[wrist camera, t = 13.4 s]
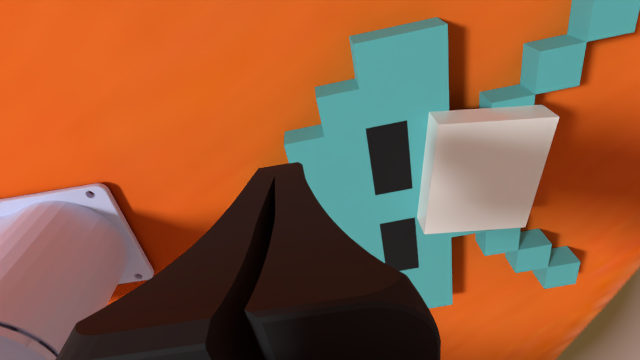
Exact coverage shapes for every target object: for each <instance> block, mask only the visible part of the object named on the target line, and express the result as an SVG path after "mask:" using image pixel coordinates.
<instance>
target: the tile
mask: <svg viewBox="0 0 640 360" xmlns="http://www.w3.org/2000/svg"><path fill="white" fill-rule="evenodd" d="M558 121H559V116H558V115H556V114H555V113H553V112H552V111H551V110H549V109H548V108H546V107H545V106H544V105H530V106H514V107H498V108H481V109H465V110H449V111H434V112H429V117H428V125H427V134H426V143H425V152H424V161H423V169H422V178H421V187H420V196H419V205H418V213H417V218H418V221H419V223H420V226H421V228H422V230H423V233H424V234H436V233H450V232H464V231H479V230H493V229H507V228H522V227H526V224H527V221H528V217H529V214H530V211H531V208H532V205H533V201H534V198H535V195H536V192H537V188H538V185H539V182H540V179H541V175H542V172H543V169H544V166H545V163H546V159H547V156H548V153H549V150H550V146H551V143H552V140H553V137H554V133H555V130H556V127H557V124H558Z"/></svg>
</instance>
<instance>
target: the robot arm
mask: <svg viewBox="0 0 640 360" xmlns="http://www.w3.org/2000/svg"><path fill="white" fill-rule="evenodd" d="M89 191H91V192H93V193H94V194H95V195H94V194H91V193H90V192H89ZM139 274H141V275H139ZM153 275H154V270H153V268H152V266H151V264H150V263H149V261H148V259H147V257H146V255H145V254H144V252H143V250H142V248H141V246H140V244H139V243H138V241H137V239H136V237H135V235H134V234H133V232H132V230H131V228H130V226H129V225H128V223H127V221H126V219H125V217H124V215H123V214H122V212H121V210H120V208H119V206H118V205H117V203H116V201H115V199H114V197H113V196H112V194H111V192H110V190H109V188H108V187H107V186H106V185H104V184H101V183H96V184H90V185H84V186H78V187H72V188H65V189H59V190H53V191H47V192H41V193H35V194H29V195H23V196H17V197H11V198H5V199H0V360H440V344H441V341H440V335H439V331H438V328H437V325H436V323H435V320H434V318H433V316H432V314H431V312H430V310H429V309H428V307H427V305H426V303H425V302H424V300H423V298H422V297H421V295H420V294H419V292H418V291H417V289H416V288H415V286H414V285H413V283H412V282H411V280H410V279H409V278H408V276H407V275H405V274H404V273H402V272H400V271H398V270H396V269H395V268H393V267H391V266H389V265H387V264H385V263H384V262H382V261H381V260H379V259H378V258H376V257H375V256H373V255H372V254H370V253H369V252H368V251H366V250H365V249H364V248H363V247H361V246H360V245H359V244H358V243H356V242H355V241H354V240H353V239H351V238H350V237H349V236H348V235H347V234H346V233H345V232H344V231H343V230H342V229H341V228H340V227H339V226H338V225H337V224H336V223H335V222H334V221H333V220H332V218H331V217H330V216H329V215H328V214H327V212H326V211H325V210H324V208H323V207H322V206H321V204H320V203H319V202H318V200H317V199H316V197H315V195H314V194H313V192H312V190H311V189H310V187H309V185H308V183H307V181H306V178H305V174H304V169H303V165H302V164H301V163H299V162H295V163H289V164H282V165H276V166H270V167H264V168H259V169H258V170H257V171H256V173H255V174H254V175H253V177H252V178H251V179H250V181H249V182H248V183H247V185H246V186H245V188H244V189H243V190H242V192H241V193H240V194H239V196H238V197H237V198H236V200H235V201H234V202H233V203H232V205H231V206H230V207H229V208H228V209H227V211H226V212H225V213H224V214H223V215H222V216H221V217H220V219H219V220H218V221H217V222H216V223H215V224H214V225H213V226H212V228H211V229H210V230H209V231H208V232H207V233H206V234H205V235H204V236H203V237H201V238H200V239H199V240H198V241H197V242H196V243H195V244H194V245H193V246H192V247H191V248H190V249H188V250H187V251H186V252H185V253H184V254H182V255H181V256H180V257H178V258H177V259H176V260H175V261H173V262H172V263H171V264H170V265H168V266H167V267H166V268H165V269H163V270H162V271H161V272H159V273H158V274H157V275H155V276H154V277H153ZM143 280H148V281H146V282H145V283H144V284H142V285H140V286H139V287H137V288H136V289H134V290H133V291H131V292H130V293H128V294H126V295H125V296H123V297H122V298H120V299H118V300H117V301H115V302H113V303H111V304H109V305H108V303H109V301H110V299H111V297H112V295H113V293H114V291H115V289H116V287H117V285H118V284H123V283H130V282H136V281H143ZM107 305H108V306H107Z"/></svg>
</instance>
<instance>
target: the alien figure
mask: <svg viewBox="0 0 640 360" xmlns="http://www.w3.org/2000/svg"><path fill="white" fill-rule="evenodd" d="M639 10H640V0H572V5H571V12H570V19H569V26H568V32H567V34H566V35H561V36H557V37H552V38H547V39H542V40H537V41H533V42H528V43H524V46H523V58H522V69H521V81H520V84H518V85H513V86H508V87H503V88H498V89H493V90H488V91H483V92H480V99H479V109H481V108H498V107H514V106H530V105H534V102H535V94H540V93H545V92H550V91H555V90H560V89H565V88H570V87H575V86H579V85H580V79H581V73H582V67H583V61H584V56H585V50H586V44H587V42H589V41H594V40H599V39H603V38H608V37H613V36H618V35H623V34H627V33H632V32H634V31H635V27H636V23H637V19H638V14H639ZM349 38H350V45H351V52H352V58H353V65H354V72H355V78H356V79H351V80H346V81H342V82H337V83H332V84H327V85H322V86H318V87H315V92H316V100H317V104H318V109H319V114H320V118H321V123H322V124H321V125H316V126H311V127H306V128H301V129H296V130H291V131H286V132H285V136H284V147H285V150H286V154H287V158H288V161H289V163H295V162H299V163H301V164H302V165H303V169H304V174H305V178H306V181H307V183H308V185H309V187H310V189H311V190H312V192H313V194H314V195H315V197H316V199H317V200H318V202H319V203H320V204H321V206H322V207H323V208H324V210H325V211H326V212H327V214H328V215H329V216H330V217H331V218H332V220H333V221H334V222H335V223H336V224H337V225H338V226H339V227H340V228H341V229H342V230H343V231H344V232H345V233H346V234H347V235H348V236H349V237H350V238H351V239H353V240H354V241H355V242H356V243H358V244H359V245H360V246H361V247H363V248H364V249H365V250H366V251H368V252H369V253H370V254H372V255H373V256H375V257H376V258H378V259H379V260H381V261H382V262H384V263H385V264H387V265H389V266H391V267H393V268H395V269H396V270H398V271H400V272H402V273H404V274H405V275H407V276H408V278H409V279H410V280H411V282H412V283H413V285H414V286H415V288H416V289H417V291H418V292H419V294H420V295H421V297H422V298H423V300H424V302H425V303H426V305H427V307H428V308H434V307H440V306H446V305H452V245H451V237H457V236H462V235H468V234H474V233H476V242H477V243H478V245H479V247H480V248H481V250H482V252H483V254H484V255H485V256H488V255H493V254H499V253H505V252H506V254H505V257H506V259H507V260H508V262H509V263H510V265H511V266H512V268H513V270H514V271H515V273H519V272H525V271H530V270H533V273H534V275H535V276H536V278H537V279H538V280H539V282H540V283H541V285H542V286H543V288H544V289H546V288H552V287H558V286H564V285H570V284H575V283H576V279H577V275H578V271H579V266H580V261H579V259H578V258H577V257H576V256H575V255H574V254H573V252H572V251H571V250H570V249H569V248H568V247H567V246H563V247H558V248H552V249H551V247H552V244H551V242H550V241H549V240H548V239H547V237H546V236H545V235H544V234H543V232H542V231H541V230H540V229H533V230H528V231H522V232H520V229H521V228H507V229H493V230H479V231H464V232H450V233H436V234H424V233H423V230H422V228H421V226H420V223H419V221H418V218H417V213H418V205H419V196H420V187H421V178H422V169H423V161H424V152H425V143H426V134H427V125H428V117H429V112H434V111H449V67H448V24H447V23H445V22H444V21H442V20H441V19H439V18H438V17H436V18H431V19H427V20H422V21H418V22H413V23H408V24H404V25H399V26H394V27H390V28H385V29H381V30H376V31H371V32H367V33H362V34H357V35H353V36H349Z"/></svg>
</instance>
